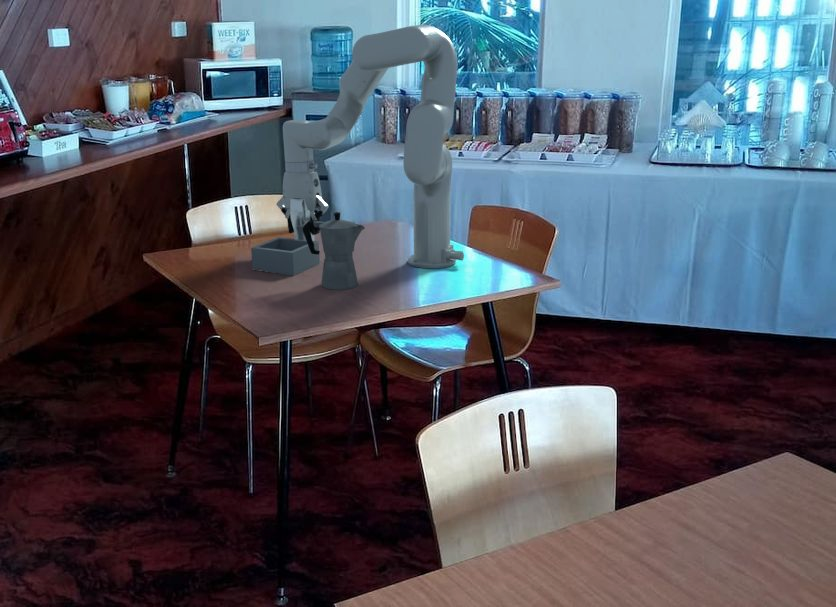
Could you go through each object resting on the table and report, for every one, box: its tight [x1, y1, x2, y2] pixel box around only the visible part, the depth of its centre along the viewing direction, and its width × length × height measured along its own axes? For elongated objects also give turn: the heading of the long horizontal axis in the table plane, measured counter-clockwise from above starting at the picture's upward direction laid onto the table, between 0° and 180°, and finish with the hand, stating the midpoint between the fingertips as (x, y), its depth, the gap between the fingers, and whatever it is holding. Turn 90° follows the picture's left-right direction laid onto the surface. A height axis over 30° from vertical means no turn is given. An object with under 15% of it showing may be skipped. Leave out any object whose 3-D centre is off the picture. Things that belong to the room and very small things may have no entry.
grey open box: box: [250, 236, 320, 277], centre depth 237 cm, size 12×12×6 cm
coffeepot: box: [303, 211, 366, 291], centre depth 220 cm, size 15×9×18 cm, turn 78°
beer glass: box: [290, 198, 316, 241], centre depth 248 cm, size 7×7×15 cm
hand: (304, 232), depth 249 cm, fingers closed on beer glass, 6 cm apart
